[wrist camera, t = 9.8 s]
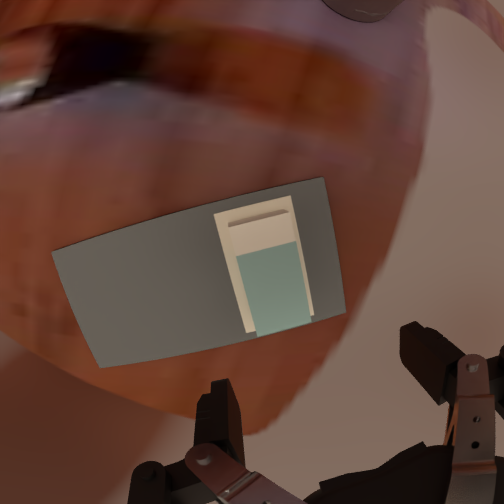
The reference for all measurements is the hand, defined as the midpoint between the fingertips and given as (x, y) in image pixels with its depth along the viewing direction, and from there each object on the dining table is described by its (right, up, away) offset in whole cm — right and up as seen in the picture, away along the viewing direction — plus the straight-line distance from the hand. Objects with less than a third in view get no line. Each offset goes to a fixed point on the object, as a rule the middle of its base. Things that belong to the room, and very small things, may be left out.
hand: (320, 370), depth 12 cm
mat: (-8, +2, +16) cm, 18 cm away
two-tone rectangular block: (-2, +4, +16) cm, 16 cm away
